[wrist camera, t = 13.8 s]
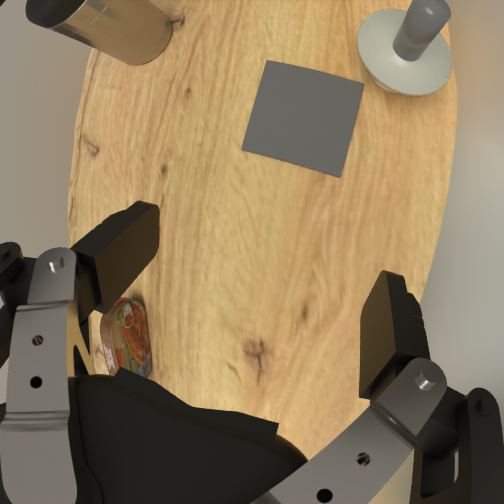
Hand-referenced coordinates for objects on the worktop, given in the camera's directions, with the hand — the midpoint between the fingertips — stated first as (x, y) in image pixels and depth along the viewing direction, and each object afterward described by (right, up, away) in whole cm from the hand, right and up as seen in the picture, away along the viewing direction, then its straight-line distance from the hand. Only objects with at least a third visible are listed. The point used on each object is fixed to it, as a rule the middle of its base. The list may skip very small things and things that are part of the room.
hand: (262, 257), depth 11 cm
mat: (+6, +16, +23) cm, 29 cm away
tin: (-18, -13, +35) cm, 42 cm away
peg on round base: (+15, +20, +13) cm, 28 cm away
